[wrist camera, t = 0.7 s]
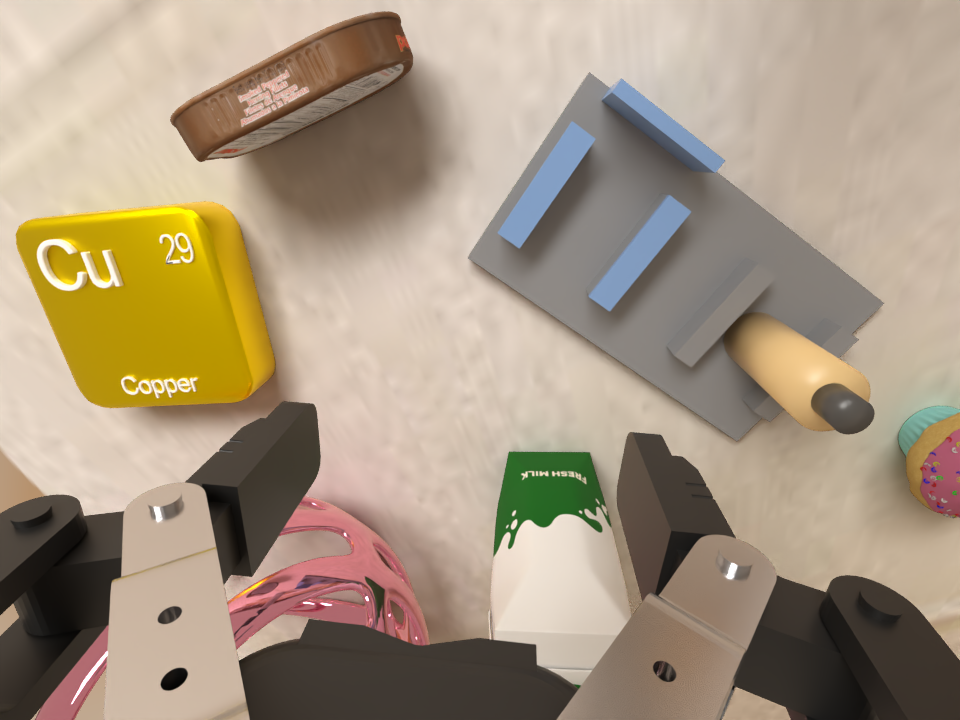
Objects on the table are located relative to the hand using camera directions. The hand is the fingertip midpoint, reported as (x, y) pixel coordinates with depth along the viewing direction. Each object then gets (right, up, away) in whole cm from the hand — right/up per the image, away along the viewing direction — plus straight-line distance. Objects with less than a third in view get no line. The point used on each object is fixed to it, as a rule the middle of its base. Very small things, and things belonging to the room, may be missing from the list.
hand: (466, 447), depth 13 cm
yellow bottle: (+20, +4, +24) cm, 31 cm away
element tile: (-25, +7, +28) cm, 38 cm away
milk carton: (+6, -9, +31) cm, 33 cm away
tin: (-10, +20, +21) cm, 31 cm away
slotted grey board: (+14, +8, +23) cm, 29 cm away
